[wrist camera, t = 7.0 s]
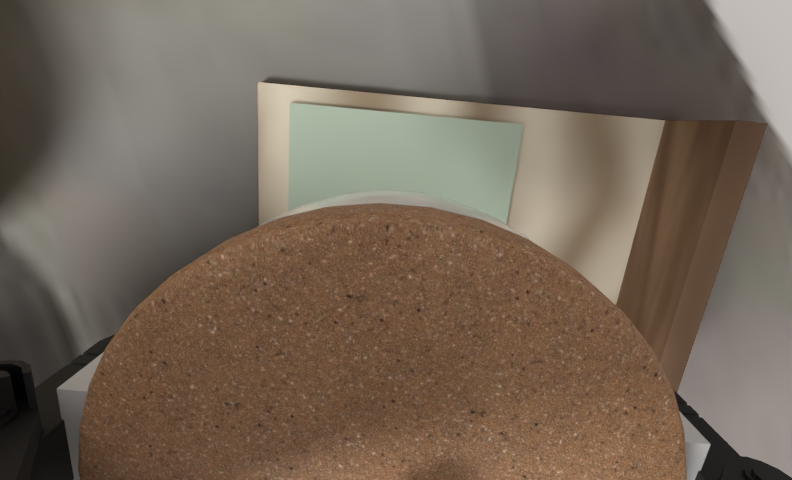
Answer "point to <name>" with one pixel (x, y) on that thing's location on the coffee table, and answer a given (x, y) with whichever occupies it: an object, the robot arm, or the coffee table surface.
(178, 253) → the coffee table surface
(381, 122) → the pad
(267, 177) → the board
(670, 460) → the lidded jar
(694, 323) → the walls
